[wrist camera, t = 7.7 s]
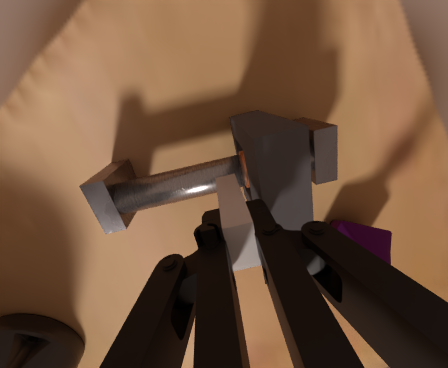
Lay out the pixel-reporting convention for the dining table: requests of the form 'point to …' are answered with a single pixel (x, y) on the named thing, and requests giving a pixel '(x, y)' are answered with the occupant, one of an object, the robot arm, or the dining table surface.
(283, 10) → the dining table surface
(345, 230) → the perfume bottle
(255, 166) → the collar
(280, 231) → the robot arm
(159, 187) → the pipe stand
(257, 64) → the dining table surface
